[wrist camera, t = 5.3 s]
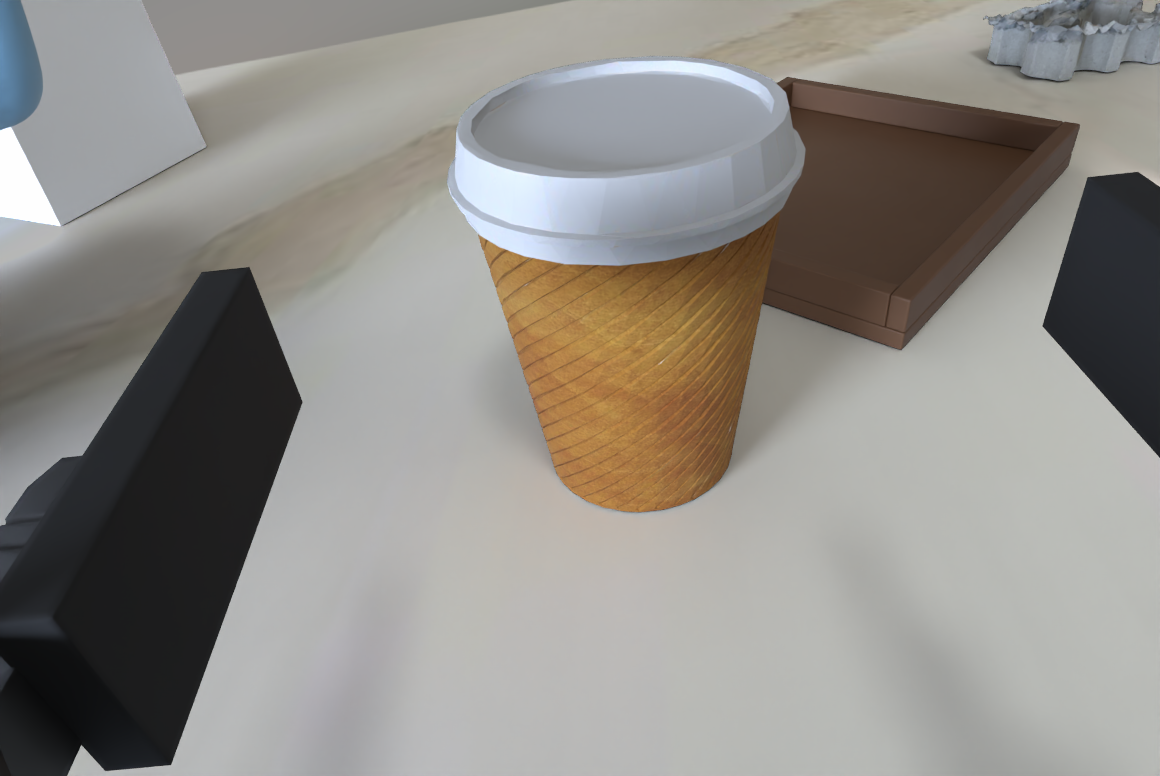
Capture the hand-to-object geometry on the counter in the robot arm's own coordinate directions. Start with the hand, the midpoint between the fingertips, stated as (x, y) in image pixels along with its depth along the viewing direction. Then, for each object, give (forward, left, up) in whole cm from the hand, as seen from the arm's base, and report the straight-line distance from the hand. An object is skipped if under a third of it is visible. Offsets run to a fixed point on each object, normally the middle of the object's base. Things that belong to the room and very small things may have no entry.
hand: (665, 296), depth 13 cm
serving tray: (-10, +27, -12) cm, 31 cm away
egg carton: (-7, +54, -12) cm, 56 cm away
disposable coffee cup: (-7, +7, -12) cm, 16 cm away
